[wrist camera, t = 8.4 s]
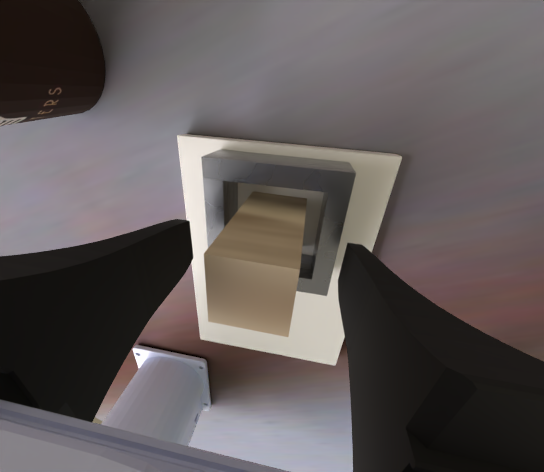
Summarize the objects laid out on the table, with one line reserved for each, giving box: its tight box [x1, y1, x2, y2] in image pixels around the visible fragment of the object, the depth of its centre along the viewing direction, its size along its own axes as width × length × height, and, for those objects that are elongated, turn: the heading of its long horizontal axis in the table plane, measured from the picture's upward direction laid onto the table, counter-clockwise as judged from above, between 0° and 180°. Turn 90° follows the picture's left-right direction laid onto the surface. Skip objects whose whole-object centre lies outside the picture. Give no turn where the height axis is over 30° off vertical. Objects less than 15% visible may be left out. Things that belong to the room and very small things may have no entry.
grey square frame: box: [201, 149, 356, 296], centre depth 13 cm, size 7×7×2 cm
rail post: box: [204, 191, 307, 337], centre depth 11 cm, size 3×3×7 cm
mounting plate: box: [177, 134, 402, 366], centre depth 17 cm, size 17×12×1 cm
